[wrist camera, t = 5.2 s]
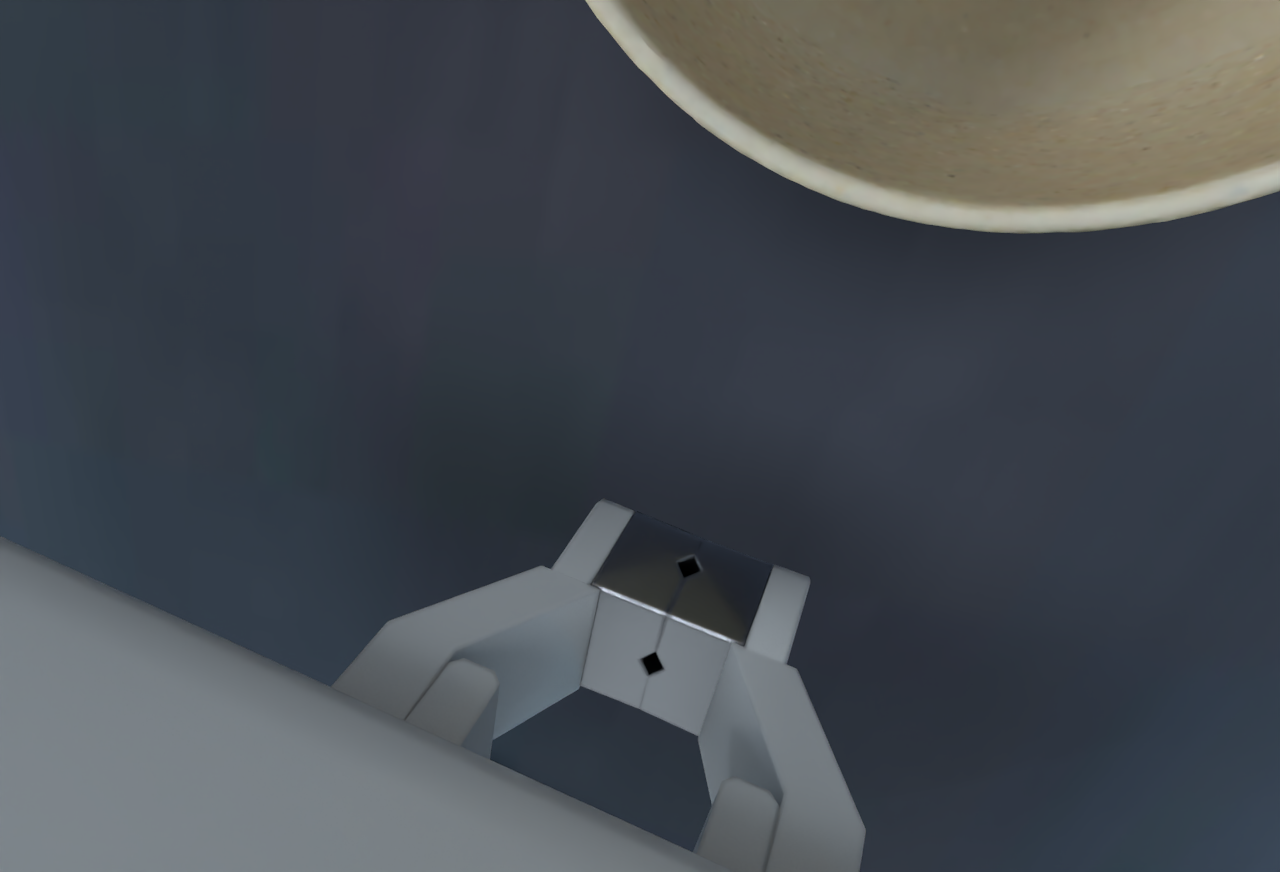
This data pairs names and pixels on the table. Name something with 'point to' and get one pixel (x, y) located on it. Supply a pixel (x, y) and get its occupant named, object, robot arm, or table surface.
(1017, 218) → the flower pot
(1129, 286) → the table surface
